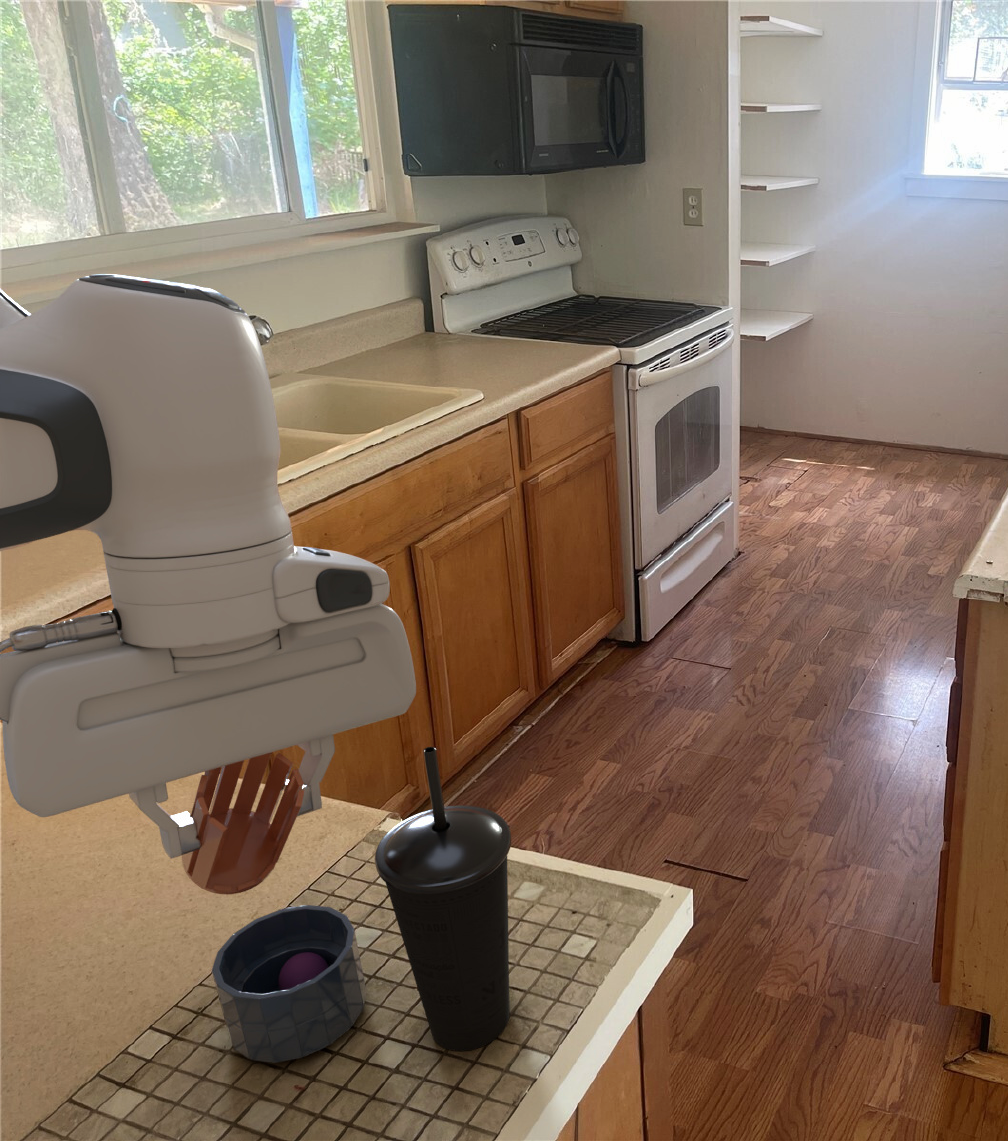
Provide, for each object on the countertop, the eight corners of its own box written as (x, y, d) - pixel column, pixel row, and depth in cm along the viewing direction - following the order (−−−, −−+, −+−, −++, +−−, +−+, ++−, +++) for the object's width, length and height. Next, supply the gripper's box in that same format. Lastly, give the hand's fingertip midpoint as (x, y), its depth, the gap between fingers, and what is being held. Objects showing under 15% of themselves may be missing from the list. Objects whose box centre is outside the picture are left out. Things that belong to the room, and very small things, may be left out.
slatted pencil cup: (169, 828, 62) (184, 763, 57) (261, 799, 66) (284, 735, 60) (198, 908, 61) (216, 851, 55) (291, 875, 64) (317, 817, 58)
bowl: (218, 1080, 63) (199, 1009, 61) (244, 983, 70) (227, 917, 68) (360, 1053, 65) (346, 983, 63) (371, 961, 72) (359, 896, 70)
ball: (279, 952, 67) (283, 1002, 66) (330, 943, 68) (334, 992, 67) (274, 962, 69) (277, 1011, 68) (323, 954, 71) (327, 1001, 69)
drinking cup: (401, 1081, 63) (347, 797, 55) (412, 987, 70) (366, 723, 62) (533, 1059, 65) (498, 779, 57) (531, 968, 71) (500, 708, 64)
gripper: (-19, 652, 47) (40, 927, 51) (415, 567, 61) (439, 789, 64) (-40, 623, 52) (16, 878, 55) (368, 550, 65) (393, 758, 69)
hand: (246, 829), depth 60 cm, fingers closed on slatted pencil cup, 5 cm apart
